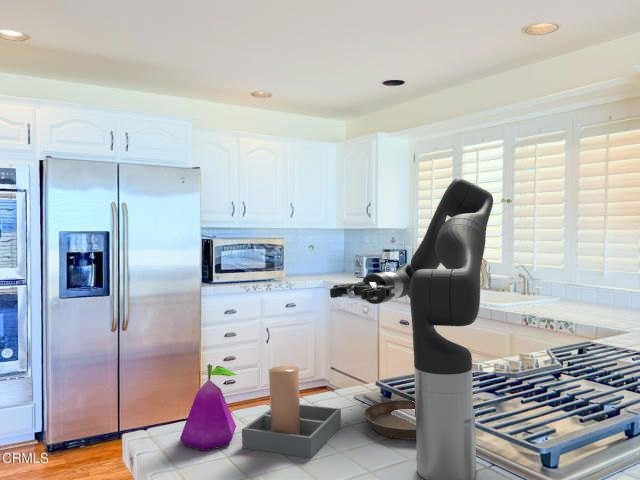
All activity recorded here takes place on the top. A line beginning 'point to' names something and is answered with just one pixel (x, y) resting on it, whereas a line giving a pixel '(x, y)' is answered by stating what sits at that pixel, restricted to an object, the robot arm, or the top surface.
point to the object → (391, 419)
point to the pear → (209, 417)
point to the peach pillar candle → (284, 400)
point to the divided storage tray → (314, 434)
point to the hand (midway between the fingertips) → (346, 294)
